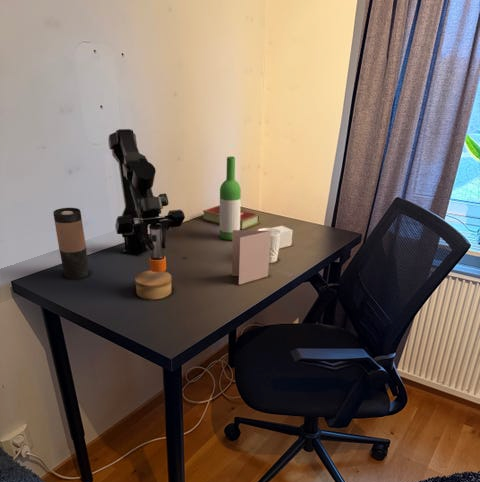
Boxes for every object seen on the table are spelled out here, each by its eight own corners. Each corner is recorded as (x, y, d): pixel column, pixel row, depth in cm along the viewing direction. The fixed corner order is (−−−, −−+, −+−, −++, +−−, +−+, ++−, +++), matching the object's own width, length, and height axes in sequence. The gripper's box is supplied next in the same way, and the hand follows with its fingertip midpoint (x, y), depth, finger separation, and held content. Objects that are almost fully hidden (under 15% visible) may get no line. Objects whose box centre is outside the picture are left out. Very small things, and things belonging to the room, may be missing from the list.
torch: (152, 265, 129) (149, 222, 122) (168, 266, 128) (166, 223, 122) (147, 271, 125) (144, 227, 118) (163, 272, 124) (161, 229, 118)
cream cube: (281, 240, 170) (282, 225, 167) (291, 245, 166) (292, 230, 163) (268, 243, 167) (269, 228, 164) (279, 248, 162) (280, 232, 160)
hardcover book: (220, 213, 199) (220, 204, 197) (258, 223, 188) (259, 213, 186) (202, 219, 190) (202, 210, 188) (242, 230, 179) (242, 220, 177)
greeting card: (267, 274, 141) (270, 229, 134) (269, 285, 135) (272, 238, 128) (231, 274, 141) (232, 229, 134) (232, 284, 134) (233, 237, 127)
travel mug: (94, 271, 140) (86, 209, 131) (79, 280, 134) (69, 216, 124) (74, 267, 142) (64, 206, 133) (58, 276, 136) (46, 213, 126)
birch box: (129, 295, 126) (127, 281, 124) (148, 281, 135) (146, 267, 133) (161, 302, 123) (160, 287, 121) (178, 287, 132) (177, 273, 130)
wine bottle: (243, 236, 172) (246, 156, 158) (232, 242, 167) (234, 160, 152) (226, 232, 176) (227, 154, 162) (215, 238, 170) (215, 157, 156)
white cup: (272, 265, 148) (274, 237, 143) (251, 260, 152) (253, 232, 147) (282, 258, 154) (285, 230, 149) (263, 253, 158) (264, 226, 153)
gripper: (113, 186, 114) (127, 240, 111) (181, 180, 122) (197, 231, 119) (109, 208, 124) (123, 258, 121) (173, 201, 132) (187, 249, 129)
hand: (158, 249), depth 122 cm, fingers closed on torch, 3 cm apart
